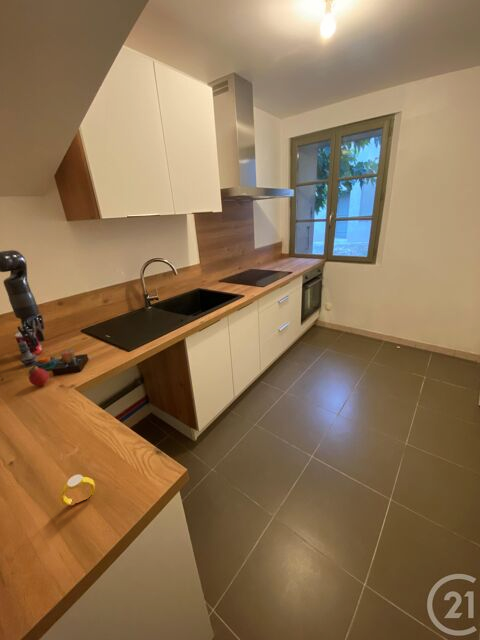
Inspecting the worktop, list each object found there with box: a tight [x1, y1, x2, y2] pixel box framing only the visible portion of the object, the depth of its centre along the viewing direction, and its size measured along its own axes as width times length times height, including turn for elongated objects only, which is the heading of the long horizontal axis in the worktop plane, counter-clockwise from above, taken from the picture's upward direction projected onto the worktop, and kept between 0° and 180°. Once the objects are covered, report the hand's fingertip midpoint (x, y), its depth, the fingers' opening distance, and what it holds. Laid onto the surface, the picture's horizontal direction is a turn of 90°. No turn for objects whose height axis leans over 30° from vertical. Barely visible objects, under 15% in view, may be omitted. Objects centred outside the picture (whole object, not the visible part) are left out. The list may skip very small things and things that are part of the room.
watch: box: [60, 474, 96, 506], centre depth 55 cm, size 6×3×6 cm, turn 117°
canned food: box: [14, 331, 43, 357], centre depth 122 cm, size 8×8×11 cm
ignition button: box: [38, 355, 51, 363], centre depth 110 cm, size 4×4×2 cm
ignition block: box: [28, 356, 61, 375], centre depth 111 cm, size 10×8×3 cm
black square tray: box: [51, 353, 89, 377], centre depth 109 cm, size 10×10×3 cm
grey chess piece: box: [17, 340, 39, 368], centre depth 112 cm, size 6×6×12 cm
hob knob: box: [60, 348, 76, 364], centre depth 108 cm, size 4×4×5 cm
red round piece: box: [28, 367, 50, 387], centre depth 97 cm, size 6×6×8 cm
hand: (38, 343), depth 107 cm, fingers open, 4 cm apart
